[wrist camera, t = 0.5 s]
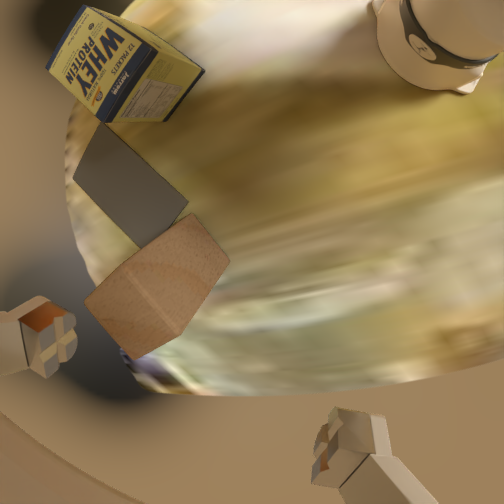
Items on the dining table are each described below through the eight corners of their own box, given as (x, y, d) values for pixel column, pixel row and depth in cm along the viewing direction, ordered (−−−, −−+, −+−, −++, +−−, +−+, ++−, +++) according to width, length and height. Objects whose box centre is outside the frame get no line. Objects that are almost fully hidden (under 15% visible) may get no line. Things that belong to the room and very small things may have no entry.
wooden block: (232, 261, 51) (182, 335, 33) (190, 289, 55) (133, 362, 37) (192, 211, 49) (120, 263, 31) (153, 244, 53) (81, 303, 35)
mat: (102, 121, 47) (100, 121, 47) (188, 201, 49) (187, 202, 49) (73, 177, 53) (72, 178, 52) (149, 255, 54) (148, 255, 54)
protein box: (142, 26, 40) (81, 2, 26) (207, 70, 41) (153, 48, 27) (108, 75, 44) (42, 68, 30) (166, 123, 45) (103, 125, 31)
